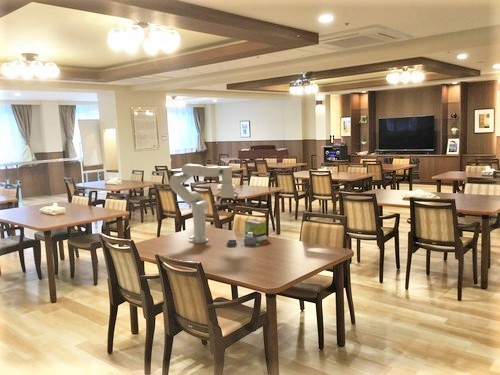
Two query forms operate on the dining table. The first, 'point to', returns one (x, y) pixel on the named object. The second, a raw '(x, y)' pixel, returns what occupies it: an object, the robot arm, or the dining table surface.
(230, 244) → the holster
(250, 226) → the tea box
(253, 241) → the port
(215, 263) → the dining table surface
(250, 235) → the plug
